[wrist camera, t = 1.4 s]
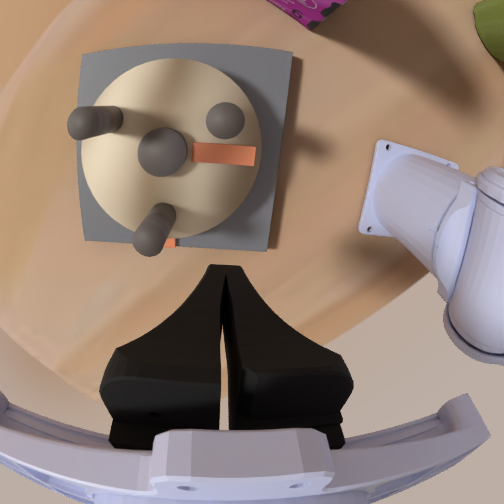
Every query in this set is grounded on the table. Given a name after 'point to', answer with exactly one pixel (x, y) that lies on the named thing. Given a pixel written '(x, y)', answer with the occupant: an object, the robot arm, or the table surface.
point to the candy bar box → (308, 10)
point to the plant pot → (491, 25)
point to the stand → (266, 109)
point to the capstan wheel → (169, 149)
